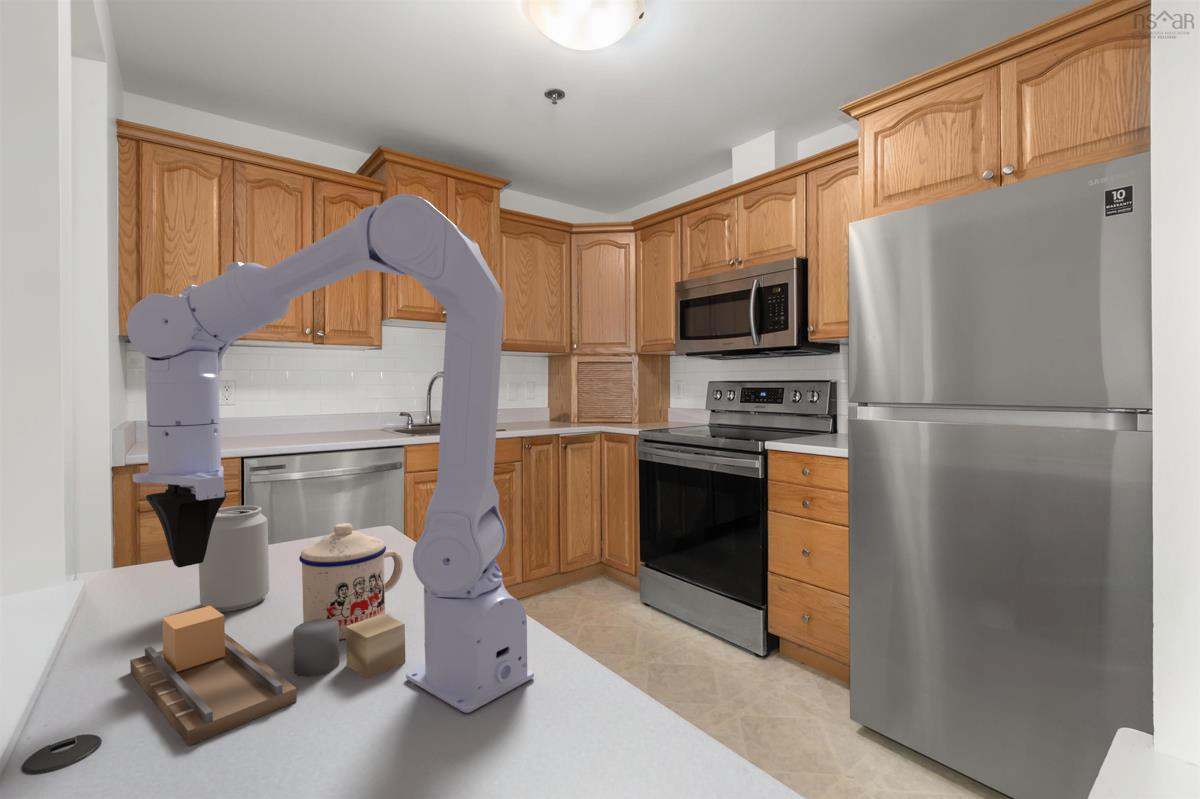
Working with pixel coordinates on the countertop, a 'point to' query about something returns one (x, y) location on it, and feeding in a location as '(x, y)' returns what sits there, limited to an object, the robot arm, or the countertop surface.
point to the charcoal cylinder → (316, 647)
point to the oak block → (375, 645)
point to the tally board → (212, 691)
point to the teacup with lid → (346, 577)
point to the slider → (193, 638)
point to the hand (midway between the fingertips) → (188, 563)
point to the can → (235, 560)
